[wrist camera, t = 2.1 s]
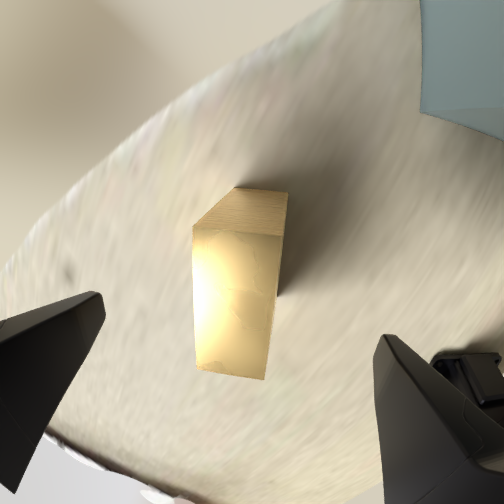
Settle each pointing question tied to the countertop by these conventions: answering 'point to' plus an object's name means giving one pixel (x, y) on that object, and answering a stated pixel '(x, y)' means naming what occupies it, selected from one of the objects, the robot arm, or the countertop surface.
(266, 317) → the block
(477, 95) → the coin box
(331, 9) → the countertop surface
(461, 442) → the robot arm
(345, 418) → the countertop surface
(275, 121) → the countertop surface
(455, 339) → the countertop surface
